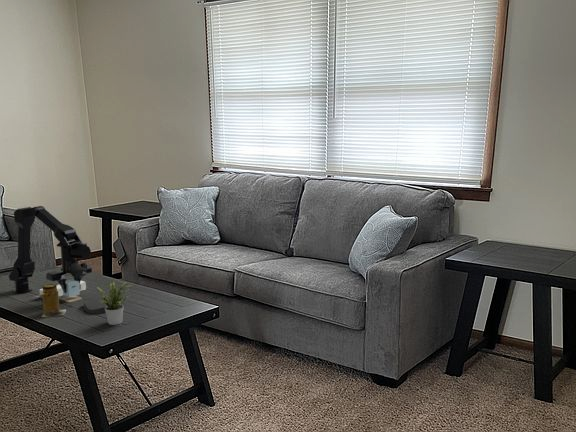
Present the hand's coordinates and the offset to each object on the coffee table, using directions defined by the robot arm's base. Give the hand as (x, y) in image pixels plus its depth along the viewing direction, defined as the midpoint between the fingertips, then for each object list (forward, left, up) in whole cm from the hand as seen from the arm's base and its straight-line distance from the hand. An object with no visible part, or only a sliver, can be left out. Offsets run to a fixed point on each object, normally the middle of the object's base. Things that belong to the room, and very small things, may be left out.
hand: (71, 291), depth 240 cm
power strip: (-10, 0, -4) cm, 11 cm away
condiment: (+11, -14, -4) cm, 18 cm away
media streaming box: (+20, +3, -4) cm, 21 cm away
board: (0, 0, -4) cm, 4 cm away
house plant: (+41, -4, -4) cm, 41 cm away
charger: (-1, 0, -1) cm, 2 cm away
